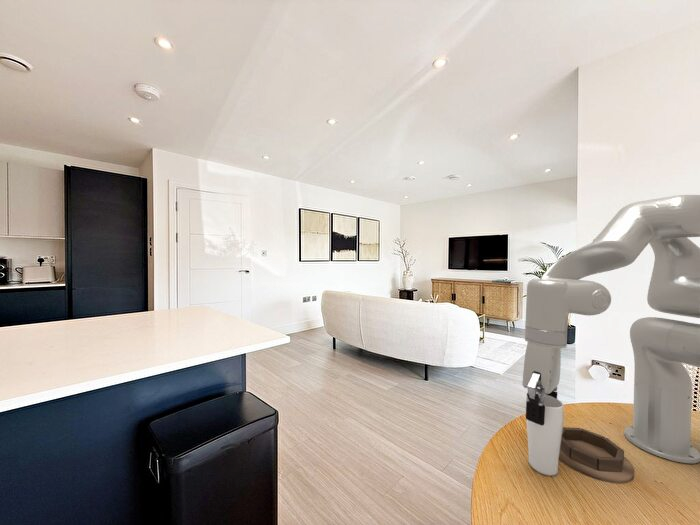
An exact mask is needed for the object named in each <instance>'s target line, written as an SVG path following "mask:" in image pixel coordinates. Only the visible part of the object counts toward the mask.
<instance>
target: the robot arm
mask: <svg viewBox="0 0 700 525" xmlns="http://www.w3.org/2000/svg"><path fill="white" fill-rule="evenodd" d="M699 237H700V194H677V195H671V196H665V197H660V198H658V197H657V198H651V199H648V200H646V199H645V200H640V201H636V202H632V203H630V204H627V205H624V206H623V207H622V208H620V210H618V212H616V214H615V215H614V216H613V217H612V219H611V220H610V221H609V222H608V223H607V224H606V226H605V227H604V228H603V229H601V232H599V234H598V235H597V236H596V237H595V238H594V240H593V241H592V242H589V243H588V244H586V245H585V246H582V247H580V248H577V250H573V251H572V252H571V253H568V254H567V255H565V256H563V257H561V258H559V259H558V260H556V261H555V262H554V263H553V264H551V265H550V266H549V267H548V268H547V269H546V270H545V272H544V273H543V274H542V275H541V277H540V278H537V279H530V280H529V281H528V283H527V285H526V302H525V304H526V305H525V320H524V321H525V325H524V326H525V328H524V341H525V342H526V343H527V344H526V346H525V347H526V348H525V355H524V361H523V362H524V363H523V370H522V371H523V372H522V373H523V374H522V382H521V383H522V387H523V388H524V389H527V392H526V398H527V399H525V419H527V420H529V421H531V422H534V423H537V424H539V425H542V426H543V425H544V421H545V406H544V405H543V403H544V399H545V395H549V396H551V397H554V398H556V399H558V385H559V383H560V379H561V364H562V363H561V361H562V358H561V357H562V356H561V352H562V349H565V348H567V345H568V324H569V322H568V321H569V314H575V315H581V316H588V317H589V316H590V317H591V316H597V315H600V314H603V313H604V312H606V311H607V310H608V309H609V307H610V305H611V303H612V295H611V293H610V291H609V290H608V289H607V288H606V286H605V285H602V284H601V283H599V282H596V281H591V280H586V279H585V280H584V279H583V278H585V277H588V276H593V275H596V274H601V273H605V272H607V273H608V272H611V271H615V270H618V269H622V268H625V267H627V266H629V265H631V264H633V263H634V262H635V261H636V260H637V258H638V257H639V256H640V255H641V254H642V252H643V251H644V250H645V248H647V246H648V245H650V247H651V249H652V252H653V254H654V260H653V261H654V263H653V268H652V271H651V272H652V273H651V277H650V281H649V284H648V290H647V296H646V299H647V304H648V306H649V308H651V309H653V310H655V311H657V312H660V313H662V314H663V313H664V314H668V315H669V314H670V315H675V316H682V317H688V318H694V319H695V318H696V319H700V247H699V246H698V245H697V244H696V243H694V242H693V241H692V240H691V239H689V238H699ZM629 339H630V343H631V348H632V351H633V360H634V361H633V362H634V373H633V374H634V375H633V376H634V377H633V407H632V408H633V409H632V410H633V412H632V414H633V415H632V426H627V427H625V428H624V432H623V433H624V436H625V438H626V439H627V440H629V442H630V443H632V444H633V445H634V446H635V447H638V448H639V449H642V450H643V451H645V452H647V453H649V454H652V455H655V456H657V457H660V458H663V459H666V460H668V461H673V462H677V463H682V464H696V463H697V464H698V463H699V462H700V451H699V450H698V449H697V448H695V446H693V445H692V444H691V442H692V441H691V439H692V438H691V435H692V434H691V433H692V430H691V429H692V405H693V404H692V400H693V383H692V382H693V381H692V378H691V375H690V373H689V372H688V370H687V369H686V368H685V366H684V365H683V364H685V365H689V366H692V367H697V368H700V323H696V322H695V323H694V322H688V321H684V320H676V319H670V318H665V317H656V316H655V317H653V316H648V317H641V318H638V319H636V320H635V321H633V323H631V326H630V329H629ZM536 393H539V394H541V396H540V398H539V395H538V394H536Z"/></svg>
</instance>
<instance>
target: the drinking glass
mask: <svg viewBox="0 0 700 525" xmlns="http://www.w3.org/2000/svg"><path fill="white" fill-rule="evenodd" d="M536 394H538V395H539V398H540V396H541V394H539V393H536ZM526 399H527V397H526ZM526 399H525V400H526ZM543 405H544V406H545V421H544V425H543V426H542V425H539V424H537V423H534V422H531V421H529V420H527V419H526V418H525V419H526V420H525V421H526V434H527V445H528V446H527V449H528V457H527V458H528V463H529V466H530V467H531V468H532V469H533V470H534V471H536V472H538V473H540V474H542V475H545V476H555V475H557V474H558V473H559V472H558V471H559V461H560V460H559V453H560V445H561V438H562V431H563V427H564V419H565V418H564V416H565V415H564V413H565V412H564V404H563V402H562V401H561V400H559V399H558V398H557V399H556V398H554V397H551V396H549V395H545V399H544V403H543Z"/></svg>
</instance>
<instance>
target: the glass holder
mask: <svg viewBox="0 0 700 525" xmlns="http://www.w3.org/2000/svg"><path fill="white" fill-rule="evenodd" d="M559 461H560V462H562V463H563V464H565V465H566V466H568V468H571V469H572V470H574V471H576V472H578V473H580V474H582V475H584V476H587V477H590V478H592V479H595V480H599V481H602V482H606V483H612V484H627V483H630V482H632V481H633V480H634V477H635V468H634V466H633V464H632V462H631V461H630V460H629V459H628V458H627V457H626V456H625V451H624V449H623V448H621V447H620V446H619V445H618V444H616V443H614V442H613V441H612V440H611V439H609V438H607V437H606V436H603V435H601V434H598V433H596V432H593V431H590V430H587V429H584V428H582V427H581V428H580V427H570V426H569V427H567V426H566V427H565V426H563V431H562V438H561V445H560V453H559Z"/></svg>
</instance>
